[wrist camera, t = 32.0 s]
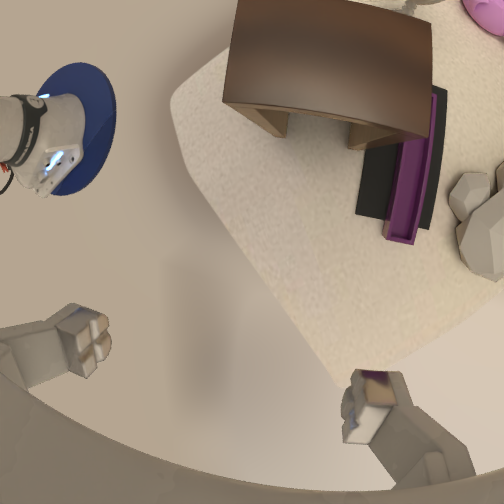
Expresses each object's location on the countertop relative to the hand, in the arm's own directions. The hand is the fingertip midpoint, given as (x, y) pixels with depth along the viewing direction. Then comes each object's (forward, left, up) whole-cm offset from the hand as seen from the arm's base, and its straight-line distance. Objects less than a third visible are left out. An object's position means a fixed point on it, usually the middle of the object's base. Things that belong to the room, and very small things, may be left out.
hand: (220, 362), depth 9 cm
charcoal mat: (+18, -4, -36) cm, 40 cm away
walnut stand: (+11, +7, -36) cm, 38 cm away
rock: (+26, -21, -36) cm, 49 cm away
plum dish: (+17, -6, -35) cm, 40 cm away
